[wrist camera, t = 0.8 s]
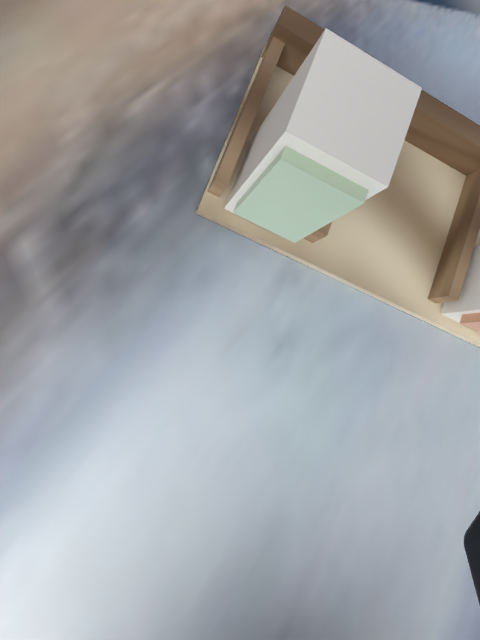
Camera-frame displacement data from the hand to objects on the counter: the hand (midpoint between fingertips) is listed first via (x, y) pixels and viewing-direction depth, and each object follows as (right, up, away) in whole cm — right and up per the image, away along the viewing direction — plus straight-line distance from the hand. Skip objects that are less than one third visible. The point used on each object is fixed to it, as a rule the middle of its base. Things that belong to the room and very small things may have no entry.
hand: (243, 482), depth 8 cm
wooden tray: (+8, +9, +17) cm, 21 cm away
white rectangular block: (+2, +9, +14) cm, 17 cm away
